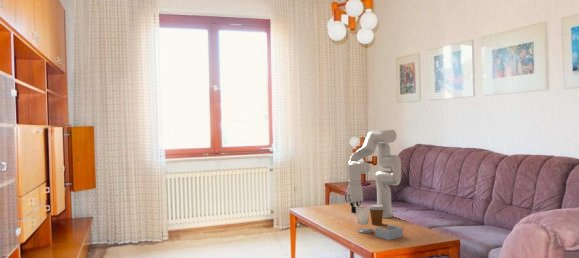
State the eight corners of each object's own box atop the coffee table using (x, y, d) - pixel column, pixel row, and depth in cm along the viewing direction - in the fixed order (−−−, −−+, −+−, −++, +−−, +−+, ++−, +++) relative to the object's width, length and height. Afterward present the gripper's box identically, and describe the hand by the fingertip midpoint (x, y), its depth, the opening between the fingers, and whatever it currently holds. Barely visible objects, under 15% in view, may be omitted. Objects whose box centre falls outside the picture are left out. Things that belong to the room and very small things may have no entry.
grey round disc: (365, 228, 269) (365, 227, 269) (377, 231, 261) (377, 230, 261) (353, 231, 264) (353, 230, 264) (365, 234, 256) (365, 233, 256)
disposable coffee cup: (373, 226, 273) (372, 207, 273) (366, 223, 283) (366, 204, 282) (387, 224, 276) (386, 206, 276) (380, 221, 285) (379, 203, 285)
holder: (389, 232, 257) (388, 224, 257) (402, 236, 249) (402, 227, 249) (375, 236, 251) (375, 227, 251) (388, 240, 242) (388, 231, 242)
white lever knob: (370, 223, 263) (372, 209, 262) (362, 225, 259) (364, 211, 258) (355, 216, 274) (356, 202, 272) (347, 217, 270) (349, 204, 269)
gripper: (360, 181, 276) (360, 209, 277) (341, 183, 267) (341, 213, 267) (368, 182, 270) (369, 211, 270) (349, 185, 261) (350, 215, 261)
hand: (355, 212), depth 269 cm, fingers closed on white lever knob, 2 cm apart
